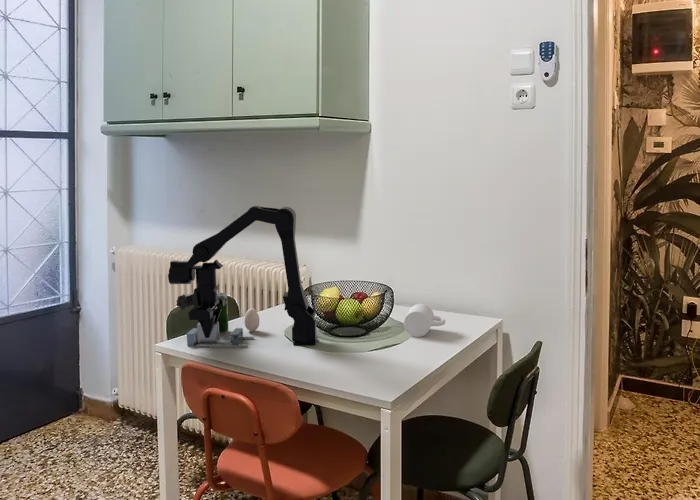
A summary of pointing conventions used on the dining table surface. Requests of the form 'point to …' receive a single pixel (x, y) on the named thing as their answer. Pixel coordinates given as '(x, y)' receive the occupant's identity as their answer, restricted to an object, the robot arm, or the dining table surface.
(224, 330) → the green soda can
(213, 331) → the steel block
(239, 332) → the block
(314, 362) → the dining table surface
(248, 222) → the robot arm
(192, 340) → the vise bed
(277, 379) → the dining table surface
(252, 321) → the egg
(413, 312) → the mug
